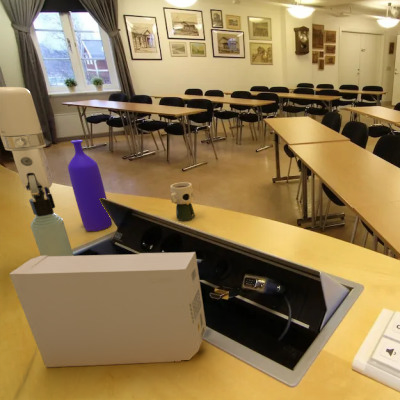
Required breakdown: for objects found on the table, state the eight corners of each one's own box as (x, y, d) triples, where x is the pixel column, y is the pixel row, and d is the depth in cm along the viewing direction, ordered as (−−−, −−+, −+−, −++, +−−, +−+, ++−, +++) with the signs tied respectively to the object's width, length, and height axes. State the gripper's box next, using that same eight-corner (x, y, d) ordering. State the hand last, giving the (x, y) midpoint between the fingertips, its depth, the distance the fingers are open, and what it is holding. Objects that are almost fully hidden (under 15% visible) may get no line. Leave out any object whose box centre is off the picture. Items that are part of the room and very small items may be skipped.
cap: (43, 208, 85) (38, 195, 83) (57, 209, 84) (53, 196, 83) (29, 214, 81) (24, 201, 80) (44, 215, 81) (39, 201, 79)
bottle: (78, 230, 108) (52, 142, 97) (99, 220, 116) (78, 137, 105) (98, 233, 106) (74, 143, 96) (118, 223, 114) (98, 139, 103)
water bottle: (41, 274, 84) (18, 207, 78) (49, 261, 90) (28, 198, 83) (72, 268, 87) (52, 203, 80) (77, 256, 93) (59, 195, 86)
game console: (66, 343, 63) (36, 254, 56) (208, 337, 65) (195, 251, 58) (45, 368, 57) (8, 273, 50) (200, 360, 59) (185, 269, 52)
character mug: (184, 225, 113) (178, 190, 108) (167, 222, 115) (161, 188, 110) (203, 213, 123) (199, 181, 118) (187, 211, 125) (183, 179, 120)
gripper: (40, 145, 72) (62, 219, 79) (47, 135, 85) (66, 199, 92) (-5, 149, 68) (22, 227, 75) (10, 137, 81) (32, 204, 88)
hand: (46, 211), depth 83 cm, fingers closed on cap, 3 cm apart
